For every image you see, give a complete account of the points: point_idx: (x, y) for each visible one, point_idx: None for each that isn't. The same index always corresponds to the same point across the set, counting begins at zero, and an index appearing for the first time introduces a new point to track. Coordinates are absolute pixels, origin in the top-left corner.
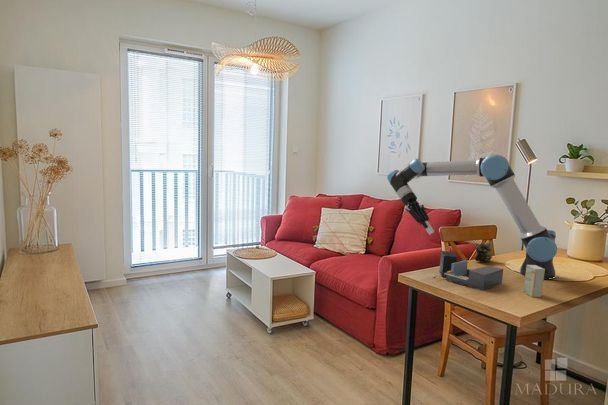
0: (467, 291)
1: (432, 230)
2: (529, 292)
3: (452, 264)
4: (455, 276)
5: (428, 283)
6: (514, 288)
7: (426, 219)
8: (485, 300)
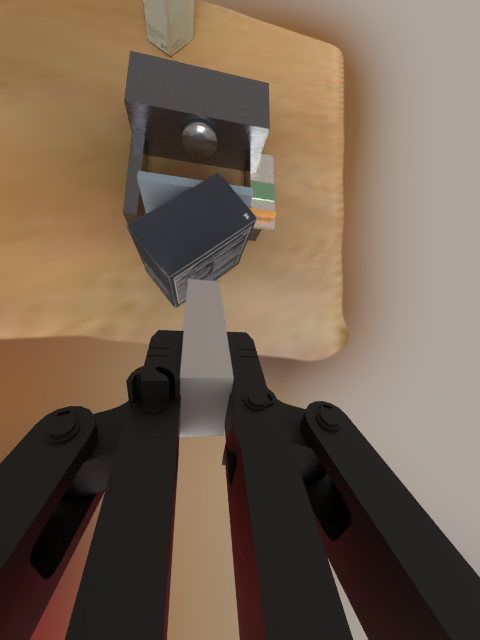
0: (297, 158)
1: (211, 286)
2: (187, 32)
3: (252, 195)
4: (273, 190)
5: (333, 255)
6: None
7: (164, 411)
8: (317, 111)
